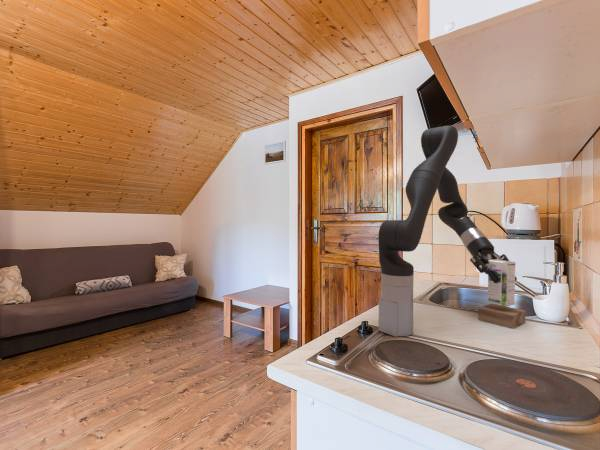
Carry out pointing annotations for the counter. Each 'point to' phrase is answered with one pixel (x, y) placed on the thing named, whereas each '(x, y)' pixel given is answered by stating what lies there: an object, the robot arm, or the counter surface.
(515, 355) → the counter surface
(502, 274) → the syrup box
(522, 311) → the walnut base
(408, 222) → the robot arm
